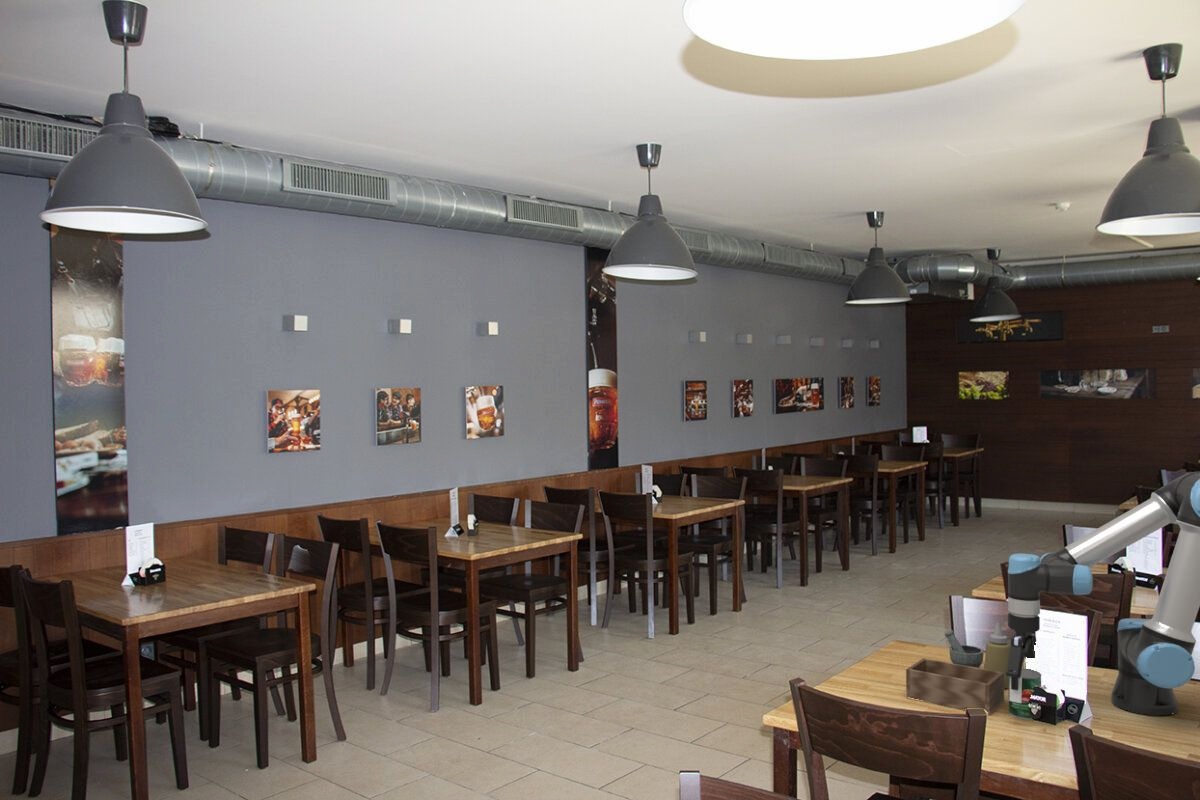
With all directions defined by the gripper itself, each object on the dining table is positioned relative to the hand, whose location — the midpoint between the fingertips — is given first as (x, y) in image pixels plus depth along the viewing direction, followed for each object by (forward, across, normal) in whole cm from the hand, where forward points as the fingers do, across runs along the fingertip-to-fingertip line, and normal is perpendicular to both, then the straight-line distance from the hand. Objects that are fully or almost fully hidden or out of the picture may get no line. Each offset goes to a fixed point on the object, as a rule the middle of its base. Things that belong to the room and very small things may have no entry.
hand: (1023, 694), depth 235 cm
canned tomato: (+5, 0, 0) cm, 5 cm away
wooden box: (+5, 0, -18) cm, 18 cm away
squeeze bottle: (+5, -19, -12) cm, 23 cm away
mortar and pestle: (+6, -26, -24) cm, 36 cm away
